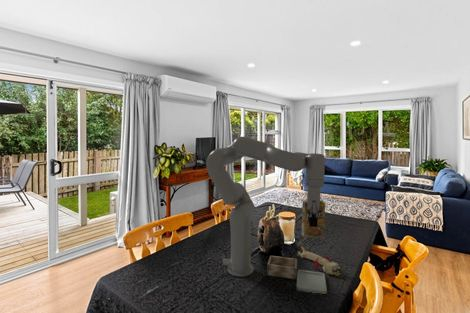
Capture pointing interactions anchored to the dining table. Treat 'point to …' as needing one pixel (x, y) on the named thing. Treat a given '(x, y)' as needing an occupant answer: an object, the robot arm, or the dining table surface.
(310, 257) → the cat figure
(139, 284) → the dining table surface
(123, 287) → the dining table surface
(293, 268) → the caddy
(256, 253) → the dining table surface
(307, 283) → the tray
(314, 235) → the candy box
